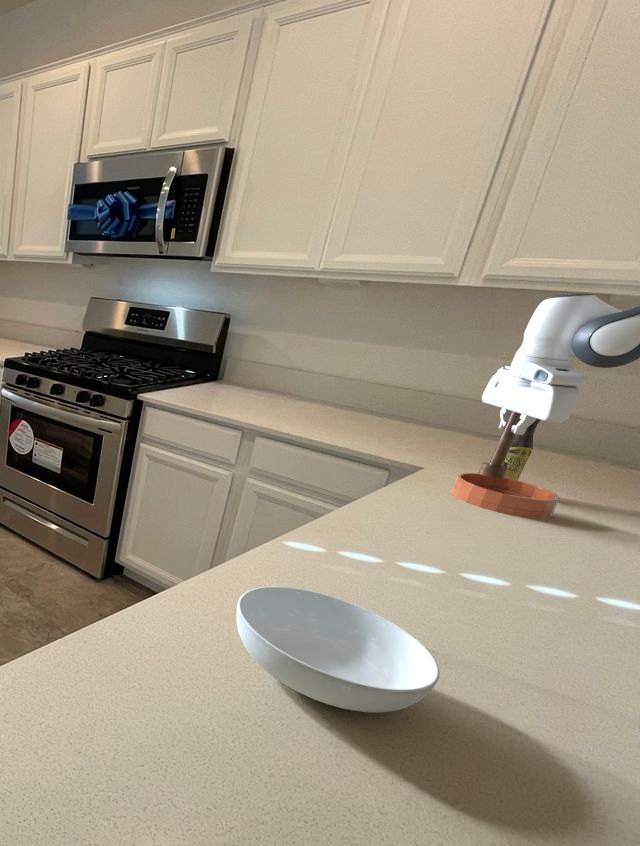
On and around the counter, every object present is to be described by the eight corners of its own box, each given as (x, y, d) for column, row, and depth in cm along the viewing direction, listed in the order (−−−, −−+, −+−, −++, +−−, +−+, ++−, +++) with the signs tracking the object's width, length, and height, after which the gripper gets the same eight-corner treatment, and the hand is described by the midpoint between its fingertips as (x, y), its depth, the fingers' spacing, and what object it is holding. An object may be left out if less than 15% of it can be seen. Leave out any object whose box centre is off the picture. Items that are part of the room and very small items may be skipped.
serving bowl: (348, 761, 61) (370, 709, 59) (190, 643, 79) (202, 600, 77) (457, 712, 69) (480, 664, 67) (292, 615, 87) (305, 575, 85)
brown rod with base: (497, 474, 136) (529, 403, 130) (507, 480, 133) (540, 407, 127) (474, 471, 138) (504, 400, 132) (483, 476, 134) (515, 404, 128)
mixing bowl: (540, 510, 138) (551, 486, 136) (554, 532, 125) (566, 507, 123) (446, 490, 147) (455, 467, 145) (450, 509, 135) (460, 485, 133)
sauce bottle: (491, 491, 149) (524, 415, 142) (474, 482, 155) (504, 409, 148) (520, 494, 148) (554, 418, 141) (501, 485, 154) (533, 412, 147)
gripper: (486, 362, 137) (463, 419, 142) (559, 377, 118) (529, 442, 123) (517, 364, 136) (493, 422, 141) (595, 380, 117) (563, 446, 122)
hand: (510, 431), depth 131 cm, fingers closed on brown rod with base, 2 cm apart
